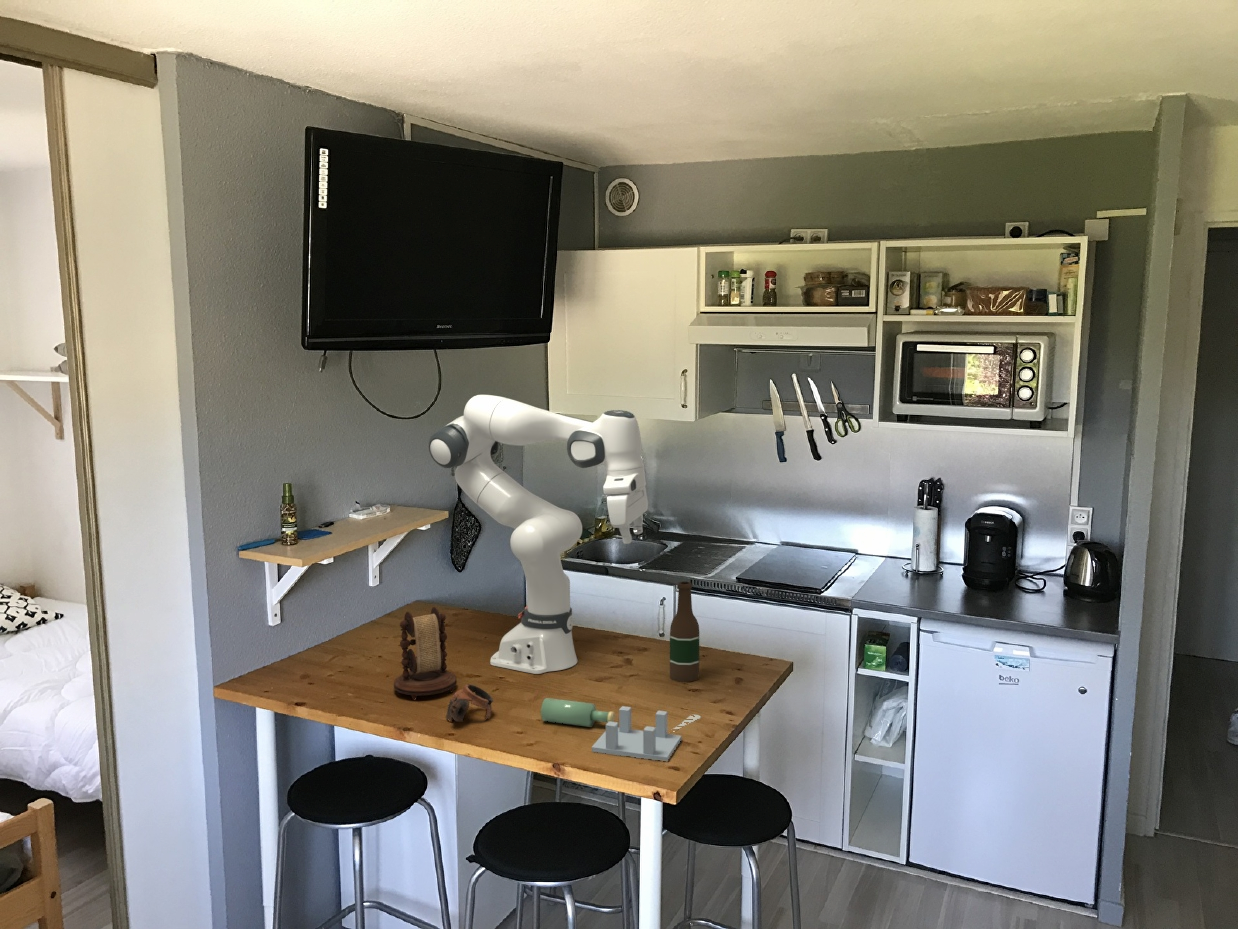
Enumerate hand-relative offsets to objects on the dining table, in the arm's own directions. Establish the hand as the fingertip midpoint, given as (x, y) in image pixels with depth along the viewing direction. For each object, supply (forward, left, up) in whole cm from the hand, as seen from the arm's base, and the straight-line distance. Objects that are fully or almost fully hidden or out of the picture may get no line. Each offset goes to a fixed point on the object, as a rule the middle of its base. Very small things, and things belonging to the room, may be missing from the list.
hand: (633, 538), depth 231 cm
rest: (+10, -30, -37) cm, 49 cm away
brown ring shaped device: (-30, -28, -37) cm, 55 cm away
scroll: (-48, -15, -37) cm, 62 cm away
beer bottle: (+9, +12, -37) cm, 40 cm away
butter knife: (+15, -22, -38) cm, 46 cm away
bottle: (-5, -23, -37) cm, 44 cm away
